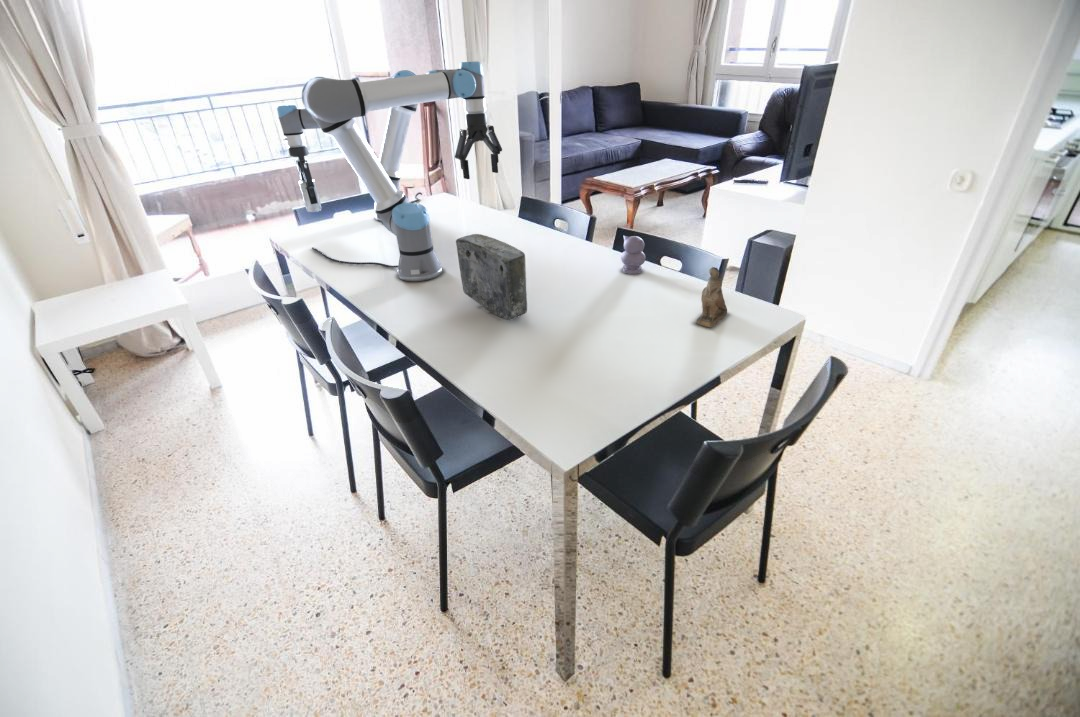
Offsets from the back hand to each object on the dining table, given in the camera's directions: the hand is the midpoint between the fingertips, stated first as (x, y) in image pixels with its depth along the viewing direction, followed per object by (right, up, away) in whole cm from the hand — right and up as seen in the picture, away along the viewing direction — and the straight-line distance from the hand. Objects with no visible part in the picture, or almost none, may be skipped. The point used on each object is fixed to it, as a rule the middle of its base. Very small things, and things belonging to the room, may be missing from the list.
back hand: (312, 202), depth 218 cm
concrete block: (+87, -54, -69) cm, 124 cm away
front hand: (+78, 0, -32) cm, 85 cm away
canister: (0, -3, +2) cm, 4 cm away
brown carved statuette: (+148, -58, -78) cm, 177 cm away
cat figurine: (+132, -39, -46) cm, 145 cm away
